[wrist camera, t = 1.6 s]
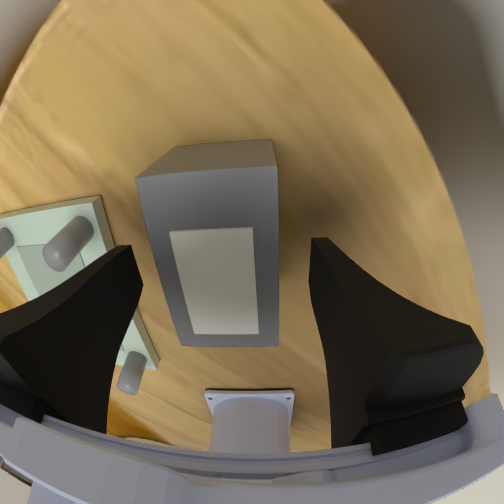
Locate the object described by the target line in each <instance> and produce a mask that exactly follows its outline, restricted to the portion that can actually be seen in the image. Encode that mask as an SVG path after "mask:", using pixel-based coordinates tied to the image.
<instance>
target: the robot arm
mask: <svg viewBox="0 0 504 504" xmlns="http://www.w3.org/2000/svg"><path fill="white" fill-rule="evenodd" d="M142 288H143V282H142V279H141V276H140V273H139V270H138V266H137V263H136V260H135V257H134V254H133V250H132V247H131V245H121V246H117V247H115V248H113V249H111V250H110V251H108V252H106V253H105V254H103V255H102V256H100V257H99V258H97V259H96V260H95V261H93V262H92V263H90V264H89V265H87V266H86V267H85V268H83V269H82V270H80V271H79V272H77V273H76V274H74V275H73V276H71V277H70V278H68V279H67V280H66V281H64V282H63V283H61V284H59V285H58V286H56V287H55V288H53V289H51V290H49V291H48V292H46V293H44V294H43V295H41V296H39V297H37V298H35V299H33V300H31V301H29V302H27V303H25V304H23V305H20V306H18V307H16V308H13V309H11V310H8V311H6V312H3V313H0V456H2V457H3V459H4V461H5V463H6V464H8V465H9V466H11V467H12V468H13V469H15V470H17V471H18V472H20V473H21V474H23V475H24V476H26V477H28V478H29V479H31V480H33V483H32V487H31V491H30V494H29V499H28V503H27V504H431V503H433V502H435V501H438V500H440V499H442V498H445V497H447V496H449V495H451V494H453V493H455V492H458V491H460V490H462V489H464V488H466V487H467V486H469V485H471V484H473V483H475V482H477V481H478V480H480V479H482V478H484V477H486V476H487V475H489V474H491V473H492V472H494V471H496V470H497V469H499V468H500V467H502V466H504V410H503V407H502V405H501V403H500V400H499V398H498V395H497V394H493V395H491V396H488V397H486V398H484V399H481V400H479V401H477V402H474V403H472V404H470V405H469V406H467V407H466V408H465V409H464V407H463V404H462V402H461V401H462V400H464V398H465V394H464V391H463V389H462V387H463V386H464V384H465V383H466V382H467V381H468V379H469V378H470V377H471V376H472V374H473V373H474V372H475V370H476V369H477V367H478V366H479V364H480V363H481V360H482V357H483V354H484V352H483V347H482V345H481V343H480V341H479V340H478V338H477V336H476V334H475V333H474V331H473V329H472V328H471V326H470V325H467V324H464V323H461V322H458V321H455V320H452V319H449V318H446V317H444V316H441V315H439V314H437V313H434V312H432V311H430V310H427V309H425V308H423V307H421V306H419V305H417V304H415V303H413V302H411V301H410V300H408V299H406V298H404V297H402V296H401V295H399V294H397V293H396V292H394V291H392V290H391V289H389V288H388V287H386V286H385V285H383V284H382V283H380V282H379V281H378V280H376V279H375V278H373V277H372V276H371V275H370V274H368V273H367V272H366V271H365V270H363V269H362V268H361V267H360V266H358V265H357V264H356V263H355V262H354V261H353V260H351V259H350V258H349V257H348V256H347V255H346V254H345V253H344V252H343V251H342V250H340V249H339V248H338V247H337V246H336V245H335V244H334V243H333V242H332V241H331V240H330V239H328V238H311V255H310V269H309V288H310V296H311V303H312V307H313V311H314V315H315V318H316V322H317V326H318V330H319V334H320V338H321V342H322V346H323V350H324V355H325V361H326V370H327V378H328V389H329V400H330V416H331V445H332V449H325V450H316V451H305V452H291V453H290V436H289V430H290V424H291V418H292V411H293V404H294V396H295V394H294V391H293V390H275V391H219V390H206V391H205V392H204V396H205V399H206V402H207V404H208V406H209V409H210V411H211V414H212V416H213V424H212V433H211V442H210V451H209V452H207V451H196V450H186V449H178V448H171V447H164V446H158V445H152V444H147V443H142V442H136V441H132V440H127V439H123V438H119V437H115V436H111V435H107V434H106V431H107V412H108V403H109V395H110V388H111V383H112V378H113V373H114V368H115V364H116V360H117V356H118V353H119V350H120V347H121V344H122V342H123V340H124V337H125V335H126V332H127V330H128V327H129V325H130V323H131V320H132V318H133V316H134V313H135V311H136V308H137V306H138V303H139V299H140V296H141V292H142Z"/></svg>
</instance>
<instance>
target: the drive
mask: <svg viewBox="0 0 504 504" xmlns="http://www.w3.org/2000/svg"><path fill="white" fill-rule="evenodd" d="M135 179H136V184H137V189H138V194H139V198H140V203H141V207H142V212H143V216H144V220H145V225H146V229H147V233H148V237H149V241H150V245H151V249H152V252H153V256H154V260H155V263H156V267H157V271H158V274H159V278H160V281H161V284H162V288H163V291H164V294H165V298H166V301H167V304H168V307H169V310H170V313H171V316H172V320H173V323H174V325H175V328H176V331H177V334H178V337H179V340H180V343H181V346H199V347H266V346H278V343H279V210H278V166H277V162H276V158H275V154H274V149H273V145H272V141H271V139H269V140H245V141H229V142H216V143H205V144H195V145H186V146H177V147H174V148H173V149H171V150H170V151H169V152H167V153H166V154H165V155H164V156H162V157H161V158H160V159H158V160H157V161H156V162H154V163H153V164H152V165H151V166H149V167H148V168H147V169H146V170H144V171H143V172H142V173H141V174H140V175H138V176H137V177H136V178H135Z"/></svg>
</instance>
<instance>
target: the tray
mask: <svg viewBox="0 0 504 504" xmlns="http://www.w3.org/2000/svg"><path fill="white" fill-rule="evenodd" d="M113 248H115V245H114V242H113V239H112V236H111V232H110V229H109V225H108V222H107V218H106V215H105V211H104V207H103V204H102V200H101V196H93V197H86V198H80V199H74V200H68V201H62V202H57V203H51V204H46V205H41V206H36V207H31V208H26V209H21V210H17V211H12V212H8V213H3V214H0V258H1V257H2V256H3V255H4V254H5V253H6V256H7V258H8V260H9V262H10V265H11V267H12V269H13V271H14V273H15V275H16V277H17V279H18V281H19V283H20V285H21V287H22V289H23V291H24V293H25V295H26V297H27V298H28V300H29V301H31V300H33V299H35V298H37V297H39V296H41V295H43V294H44V293H46V292H48V291H49V290H51V289H53V288H55V287H56V286H58V285H59V284H61V283H63V282H64V281H66V280H67V279H68V278H70V277H71V276H73V275H74V274H76V273H77V272H79V271H80V270H82V269H83V268H85V267H86V266H87V265H89V264H90V263H92V262H93V261H95V260H96V259H97V258H99V257H100V256H102V255H103V254H105V253H106V252H108V251H110V250H111V249H113ZM158 364H159V358H158V356H157V354H156V351H155V349H154V347H153V345H152V343H151V340H150V338H149V336H148V334H147V331H146V329H145V327H144V324H143V322H142V319H141V317H140V315H139V312H138V310H137V308H136V311H135V313H134V316H133V318H132V320H131V323H130V325H129V327H128V330H127V332H126V335H125V337H124V340H123V342H122V344H121V347H120V350H119V353H118V356H117V360H116V364H115V365H120V366H123V368H122V371H121V374H120V376H119V379H118V382H117V385H116V386H117V388H118V389H119V390H121V391H122V392H124V393H127V394H130V395H136V394H137V392H138V389H139V385H140V382H141V379H142V376H143V372H144V369H154V370H157V367H158Z"/></svg>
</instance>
